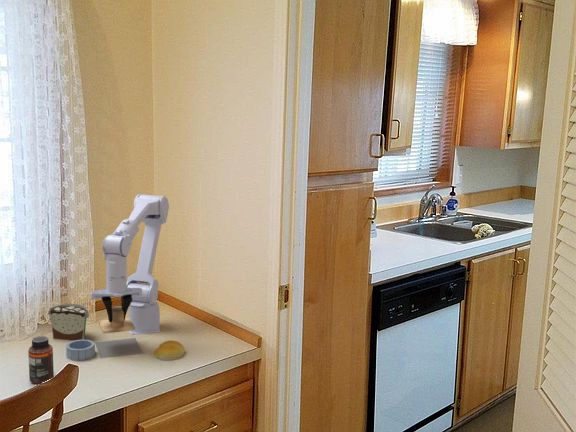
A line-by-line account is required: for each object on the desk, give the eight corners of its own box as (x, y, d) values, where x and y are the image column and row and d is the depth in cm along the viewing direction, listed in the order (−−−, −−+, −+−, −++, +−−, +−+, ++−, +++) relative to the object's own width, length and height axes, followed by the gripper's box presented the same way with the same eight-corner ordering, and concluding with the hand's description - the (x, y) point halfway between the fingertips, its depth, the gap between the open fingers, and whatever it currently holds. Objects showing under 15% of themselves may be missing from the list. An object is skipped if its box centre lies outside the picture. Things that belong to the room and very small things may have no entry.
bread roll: (150, 360, 175) (150, 347, 174) (162, 348, 183) (162, 336, 183) (178, 364, 173) (178, 350, 173) (188, 351, 182) (188, 339, 181)
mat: (135, 339, 189) (135, 337, 189) (143, 354, 178) (143, 352, 178) (95, 343, 184) (95, 342, 184) (100, 359, 173) (100, 358, 173)
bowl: (92, 349, 180) (92, 338, 179) (96, 359, 173) (96, 348, 172) (65, 352, 176) (65, 341, 176) (67, 363, 170) (67, 351, 169)
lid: (129, 319, 185) (129, 303, 184) (135, 330, 177) (135, 312, 176) (98, 323, 181) (98, 306, 180) (103, 333, 173) (103, 315, 172)
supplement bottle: (48, 372, 164) (48, 332, 161) (57, 380, 159) (56, 339, 157) (25, 378, 160) (24, 337, 158) (33, 386, 155) (32, 345, 153)
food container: (95, 335, 190) (95, 305, 188) (87, 343, 184) (87, 311, 182) (57, 332, 191) (57, 301, 189) (48, 339, 185) (47, 308, 183)
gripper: (92, 281, 170) (92, 327, 172) (144, 277, 176) (144, 322, 178) (89, 274, 176) (89, 319, 179) (139, 271, 182) (139, 314, 185)
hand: (116, 320), depth 179 cm, fingers closed on lid, 3 cm apart
